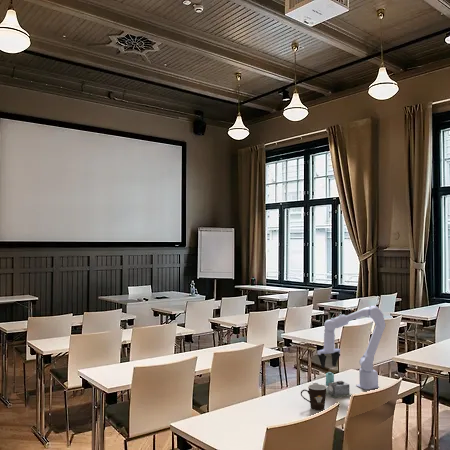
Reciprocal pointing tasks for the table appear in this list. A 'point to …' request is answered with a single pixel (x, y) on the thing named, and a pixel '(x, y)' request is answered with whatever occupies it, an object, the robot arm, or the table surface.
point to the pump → (329, 378)
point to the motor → (337, 389)
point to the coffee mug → (316, 396)
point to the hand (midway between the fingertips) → (328, 366)
